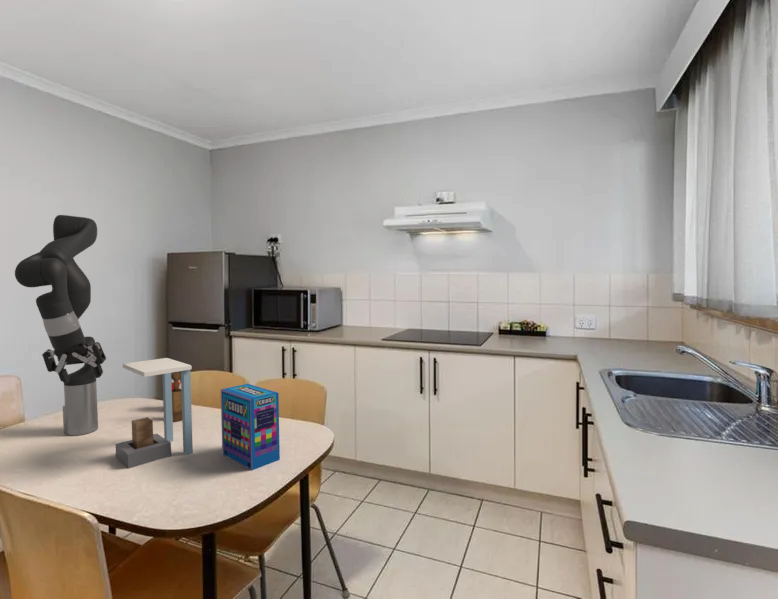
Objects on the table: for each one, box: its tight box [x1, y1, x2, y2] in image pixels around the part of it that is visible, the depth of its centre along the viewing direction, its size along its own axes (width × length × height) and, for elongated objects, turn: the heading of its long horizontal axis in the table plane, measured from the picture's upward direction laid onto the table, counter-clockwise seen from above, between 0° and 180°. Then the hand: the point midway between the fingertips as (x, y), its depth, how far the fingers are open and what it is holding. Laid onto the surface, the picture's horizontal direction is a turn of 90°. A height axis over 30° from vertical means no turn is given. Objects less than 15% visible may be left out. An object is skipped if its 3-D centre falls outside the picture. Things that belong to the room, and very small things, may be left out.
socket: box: [115, 433, 172, 469], centre depth 128 cm, size 12×12×4 cm
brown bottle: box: [171, 371, 182, 423], centre depth 162 cm, size 7×6×18 cm
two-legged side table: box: [122, 357, 194, 455], centre depth 131 cm, size 13×19×27 cm
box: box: [220, 383, 281, 471], centre depth 127 cm, size 17×9×20 cm, turn 49°
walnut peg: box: [131, 416, 154, 449], centre depth 128 cm, size 4×4×11 cm
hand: (83, 379), depth 124 cm, fingers open, 8 cm apart
